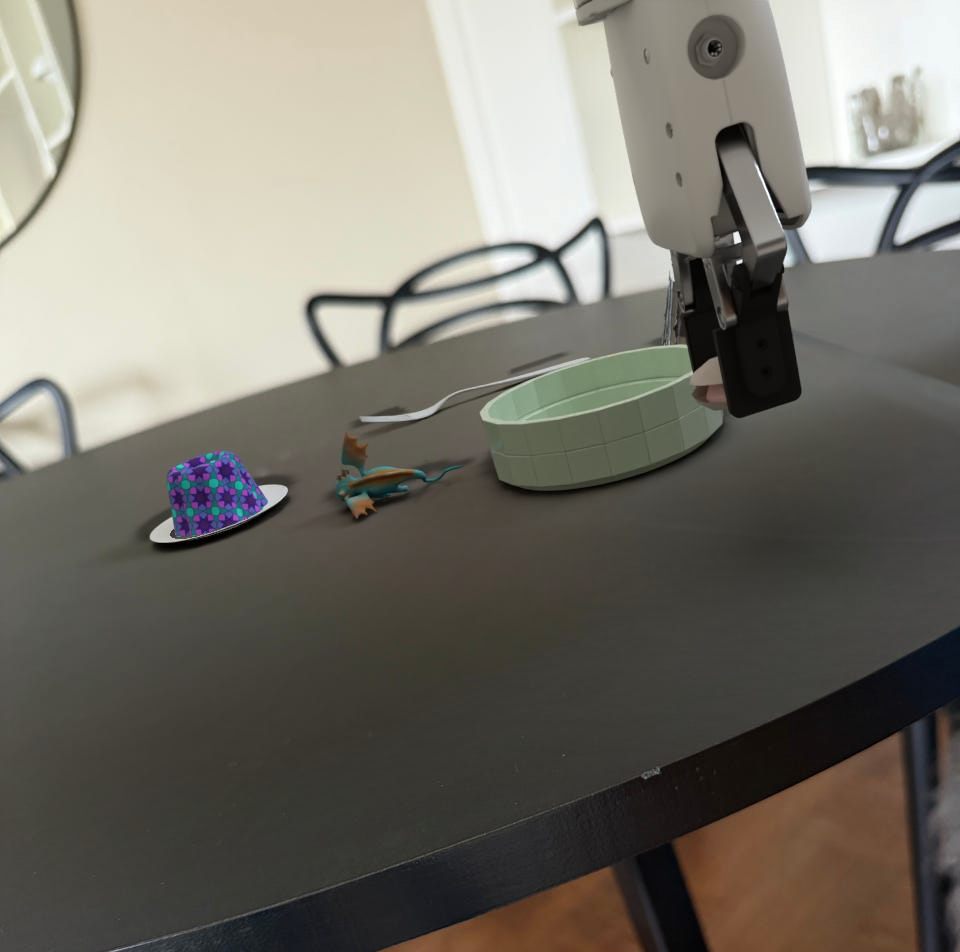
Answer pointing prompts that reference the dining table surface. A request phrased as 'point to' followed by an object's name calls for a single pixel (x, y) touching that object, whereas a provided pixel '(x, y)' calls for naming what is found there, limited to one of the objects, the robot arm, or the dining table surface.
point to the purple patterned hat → (213, 497)
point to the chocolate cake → (673, 319)
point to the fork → (434, 408)
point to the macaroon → (709, 386)
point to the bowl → (598, 420)
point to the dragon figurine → (371, 478)
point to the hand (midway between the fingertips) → (746, 392)
